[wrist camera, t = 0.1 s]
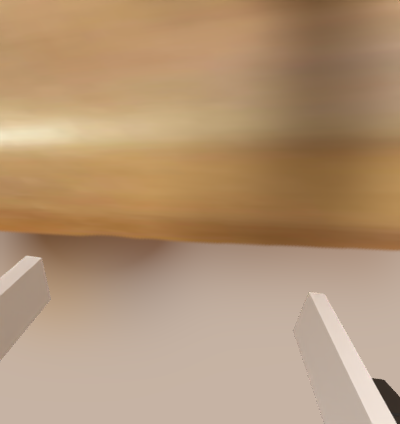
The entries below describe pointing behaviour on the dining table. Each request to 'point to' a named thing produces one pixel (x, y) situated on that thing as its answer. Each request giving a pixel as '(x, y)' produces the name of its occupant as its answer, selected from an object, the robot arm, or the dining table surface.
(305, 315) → the robot arm
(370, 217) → the dining table surface
